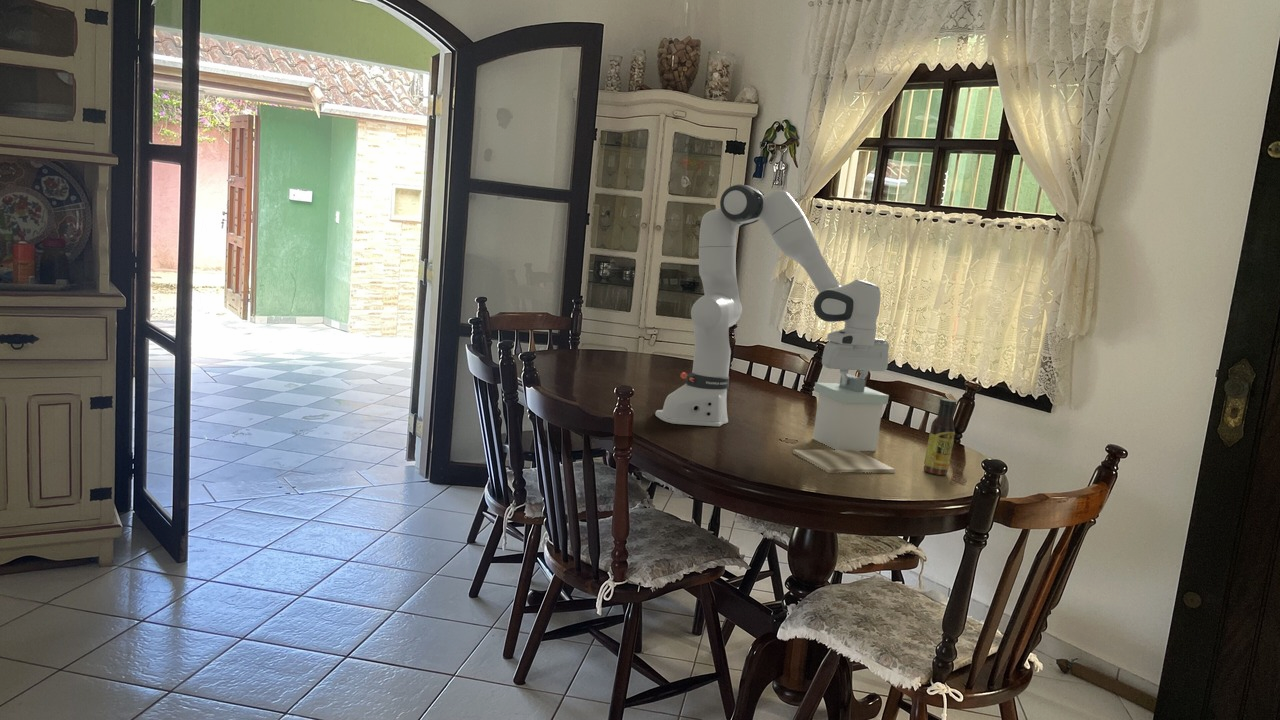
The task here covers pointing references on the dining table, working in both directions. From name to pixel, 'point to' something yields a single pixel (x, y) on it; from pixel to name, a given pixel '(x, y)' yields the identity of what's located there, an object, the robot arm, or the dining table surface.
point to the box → (847, 424)
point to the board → (843, 461)
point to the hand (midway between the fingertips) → (851, 385)
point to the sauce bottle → (941, 439)
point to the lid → (851, 391)
